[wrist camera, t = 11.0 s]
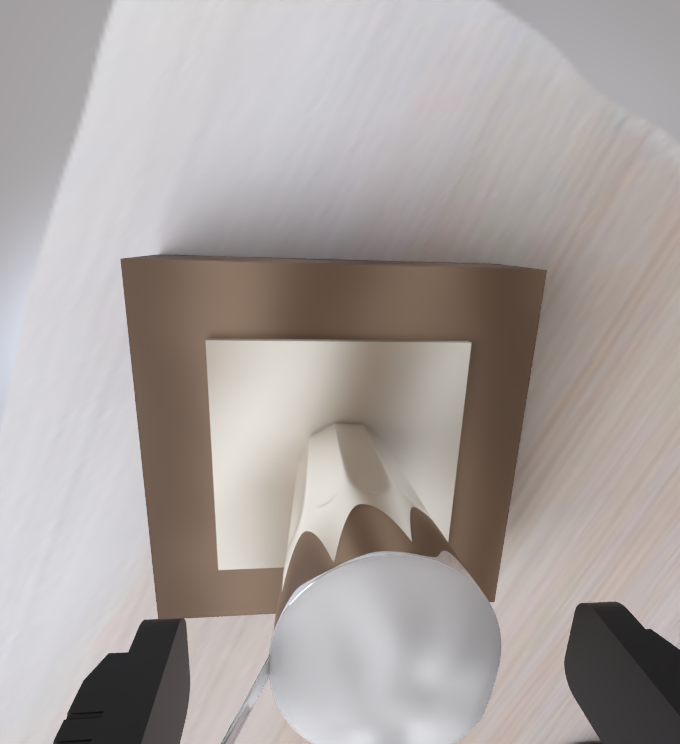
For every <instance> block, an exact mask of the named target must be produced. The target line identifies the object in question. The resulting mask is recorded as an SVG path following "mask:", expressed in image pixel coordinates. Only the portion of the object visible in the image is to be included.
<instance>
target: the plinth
mask: <svg viewBox="0 0 680 744" xmlns="http://www.w3.org/2000/svg"><path fill="white" fill-rule="evenodd" d="M121 268H122V277H123V287H124V296H125V306H126V315H127V325H128V334H129V344H130V354H131V363H132V373H133V382H134V392H135V401H136V411H137V420H138V430H139V439H140V449H141V459H142V468H143V478H144V487H145V497H146V506H147V516H148V525H149V535H150V545H151V554H152V564H153V573H154V583H155V592H156V602H157V611H158V619H177V618H200V617H219V616H238V615H257V614H275V613H276V610H277V605H278V599H279V593H280V588H281V582H282V576H283V570H284V564H285V558H286V552H287V544H288V536H289V528H290V520H291V513H292V505H293V498H294V490H295V483H296V475H297V468H298V462H299V460H300V457H301V455H302V453H303V451H304V448H305V446H306V444H307V442H308V439H309V437H311V436H312V435H314V434H316V433H317V432H319V431H321V430H323V429H324V428H326V427H328V426H329V425H331V424H333V423H347V424H362V425H364V426H365V427H366V428H367V429H369V430H370V431H371V432H372V433H374V434H375V435H376V436H377V437H379V438H380V439H381V440H383V442H384V443H385V444H386V446H387V448H388V449H389V451H390V452H391V454H392V455H393V457H394V459H395V460H396V462H397V463H398V465H399V467H400V468H401V470H402V471H403V473H404V474H405V476H406V478H407V479H408V481H409V482H410V484H411V486H412V487H413V489H414V490H415V492H416V493H417V495H418V497H419V498H420V500H421V501H422V503H423V505H424V506H425V508H426V510H427V511H428V513H429V514H430V516H431V518H432V519H433V521H434V522H435V524H436V525H437V527H438V528H439V530H440V531H441V532H442V534H443V535H444V537H445V538H446V540H447V541H448V543H449V544H450V546H451V547H452V548H453V550H454V551H455V553H456V554H457V556H458V557H459V559H460V560H461V561H462V563H463V564H464V566H465V567H466V569H467V570H468V572H469V573H470V575H471V576H472V577H473V579H474V580H475V582H476V583H477V585H478V586H479V588H480V589H481V591H482V592H483V593H484V595H485V596H486V598H487V599H488V601H489V602H494V601H495V594H496V588H497V582H498V575H499V569H500V563H501V556H502V550H503V544H504V537H505V531H506V525H507V519H508V512H509V506H510V500H511V493H512V487H513V481H514V474H515V468H516V462H517V455H518V449H519V443H520V436H521V430H522V424H523V418H524V411H525V405H526V399H527V392H528V386H529V380H530V373H531V367H532V361H533V354H534V348H535V342H536V335H537V329H538V323H539V317H540V310H541V304H542V298H543V291H544V285H545V279H546V272H547V270H540V269H532V268H524V267H516V266H508V265H500V264H475V263H440V262H404V261H368V260H333V259H297V258H261V257H225V256H190V255H150V256H141V257H133V258H124V259H121Z"/></svg>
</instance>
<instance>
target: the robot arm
mask: <svg viewBox="0 0 680 744" xmlns="http://www.w3.org/2000/svg"><path fill="white" fill-rule="evenodd" d="M564 666H565V674H566V678H567V681H568V685H569V687H570V690H571V692H572V694H573V696H574V697H575V699H576V701H577V702H578V704H579V706H580V707H581V709H582V711H583V712H584V714H585V716H586V717H587V719H588V720H589V722H590V724H591V725H592V727H593V729H594V730H595V732H596V734H597V735H598V737H599V739H600V740H601V742H602V743H603V744H680V650H679V649H678V648H676V647H675V646H674V645H672V644H671V643H669V642H668V641H667V640H665V639H664V638H663V637H661V636H660V635H658V634H657V633H656V632H654V631H653V630H651V629H645V628H644V627H643V626H642V625H641V624H640V623H639V622H638V620H637V619H636V618H635V617H634V616H633V615H632V614H631V613H630V612H629V610H628V609H627V608H626V607H625V606H623V605H622V604H620V603H618V602H598V603H581V604H579V605H578V606H577V607H576V610H575V613H574V618H573V623H572V627H571V632H570V636H569V641H568V646H567V650H566V655H565V661H564ZM189 693H190V670H189V656H188V643H187V629H186V621H185V619H184V618H177V619H153V620H144V621H143V622H142V623H141V625H140V626H139V628H138V631H137V633H136V636H135V638H134V640H133V643H132V645H131V648H130V650H129V652H128V653H109V654H108V655H107V656H106V657H105V658H104V659H103V660H102V661H101V662H100V663H99V665H98V666H97V667H96V668H95V669H94V670H93V671H92V672H91V673H90V674H89V675H88V676H87V678H86V679H85V680H84V681H83V683H82V685H81V687H80V689H79V691H78V693H77V695H76V697H75V699H74V701H73V703H72V705H71V707H70V709H69V711H68V713H67V719H66V720H64V721H63V723H62V725H61V727H60V729H59V731H58V733H57V735H56V738H55V740H54V742H53V744H180V740H181V736H182V732H183V727H184V723H185V719H186V714H187V709H188V702H189Z"/></svg>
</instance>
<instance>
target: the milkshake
mask: <svg viewBox="0 0 680 744" xmlns="http://www.w3.org/2000/svg"><path fill="white" fill-rule="evenodd" d="M500 656H501V635H500V629H499V624H498V621H497V618H496V615H495V613H494V611H493V608H492V606H491V605H490V603H489V601H488V599H487V598H486V596H485V595H484V593H483V592H482V591H481V589H480V588H479V586H478V585H477V583H476V582H475V580H474V579H473V577H472V576H471V575H470V573H469V572H468V570H467V569H466V567H465V566H464V564H463V563H462V561H461V560H460V559H459V557H458V556H457V554H456V553H455V551H454V550H453V548H452V547H451V546H450V544H449V543H448V541H447V540H446V538H445V537H444V535H443V534H442V532H441V531H440V530H439V528H438V527H437V525H436V524H435V522H434V521H433V519H432V518H431V516H430V514H429V513H428V511H427V510H426V508H425V506H424V505H423V503H422V501H421V500H420V498H419V497H418V495H417V493H416V492H415V490H414V489H413V487H412V486H411V484H410V482H409V481H408V479H407V478H406V476H405V474H404V473H403V471H402V470H401V468H400V467H399V465H398V463H397V462H396V460H395V459H394V457H393V455H392V454H391V452H390V451H389V449H388V448H387V446H386V444H385V443H384V442H383V440H381V439H380V438H379V437H377V436H376V435H375V434H374V433H372V432H371V431H370V430H369V429H367V428H366V427H365V426H364V425H362V424H347V423H333V424H331V425H329V426H328V427H326V428H324V429H323V430H321V431H319V432H317V433H316V434H314V435H312V436H311V437H309V439H308V442H307V444H306V446H305V448H304V451H303V453H302V455H301V457H300V460H299V462H298V468H297V475H296V483H295V490H294V498H293V505H292V513H291V520H290V528H289V536H288V544H287V552H286V558H285V564H284V570H283V576H282V582H281V588H280V593H279V599H278V605H277V610H276V616H275V622H274V628H273V633H272V639H271V645H270V651H269V657H268V659H267V661H266V662H265V664H264V666H263V668H262V670H261V671H260V673H259V675H258V677H257V679H256V681H255V682H254V684H253V686H252V688H251V690H250V692H249V693H248V695H247V697H246V699H245V701H244V703H243V704H242V706H241V708H240V710H239V712H238V713H237V715H236V717H235V719H234V721H233V723H232V724H231V726H230V728H229V730H228V732H227V734H226V735H225V737H224V739H223V741H222V743H221V744H234V743H235V741H236V739H237V737H238V735H239V733H240V731H241V729H242V727H243V725H244V723H245V721H246V720H247V718H248V716H249V714H250V712H251V710H252V708H253V706H254V704H255V702H256V700H257V698H258V697H259V695H260V693H261V691H262V689H263V687H264V685H265V683H266V681H267V679H268V677H269V679H270V685H271V689H272V693H273V696H274V699H275V702H276V704H277V706H278V708H279V710H280V712H281V713H282V715H283V716H284V718H285V719H286V721H287V722H288V723H289V724H290V726H291V727H292V728H293V729H294V730H295V731H296V732H297V733H298V734H299V735H300V736H302V737H303V738H304V739H306V740H307V741H309V742H310V743H312V744H454V743H455V742H457V741H458V740H460V739H461V738H462V737H464V736H465V735H466V734H468V733H469V732H470V731H471V730H472V729H473V728H474V727H475V725H476V724H477V723H478V722H479V720H480V719H481V718H482V716H483V714H484V711H485V709H486V707H487V704H488V701H489V699H490V696H491V692H492V689H493V686H494V683H495V679H496V676H497V672H498V668H499V663H500Z"/></svg>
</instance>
